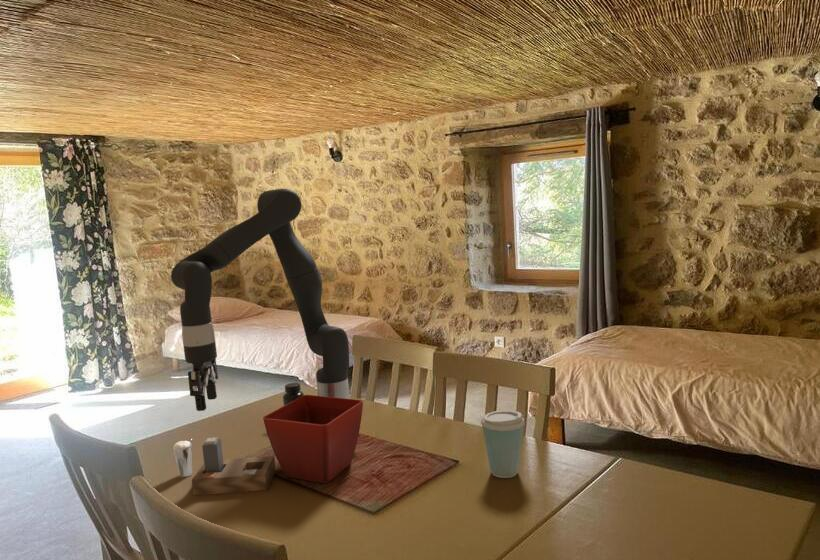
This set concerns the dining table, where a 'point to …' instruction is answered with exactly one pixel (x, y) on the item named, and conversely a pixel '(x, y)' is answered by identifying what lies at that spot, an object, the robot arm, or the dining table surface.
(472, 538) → the dining table surface
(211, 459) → the plug
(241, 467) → the port deck
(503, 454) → the disposable coffee cup
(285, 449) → the plant pot
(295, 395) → the supplement bottle
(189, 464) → the milkshake
